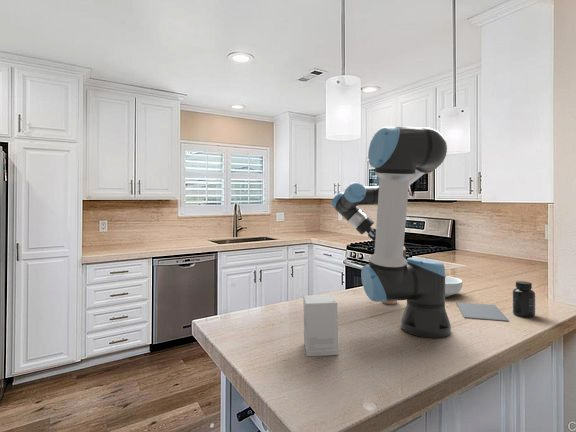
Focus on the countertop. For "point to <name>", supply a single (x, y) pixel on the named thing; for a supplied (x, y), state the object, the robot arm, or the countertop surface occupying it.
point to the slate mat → (481, 311)
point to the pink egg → (390, 302)
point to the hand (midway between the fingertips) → (400, 260)
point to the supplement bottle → (524, 300)
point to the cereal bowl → (452, 285)
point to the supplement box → (320, 325)
